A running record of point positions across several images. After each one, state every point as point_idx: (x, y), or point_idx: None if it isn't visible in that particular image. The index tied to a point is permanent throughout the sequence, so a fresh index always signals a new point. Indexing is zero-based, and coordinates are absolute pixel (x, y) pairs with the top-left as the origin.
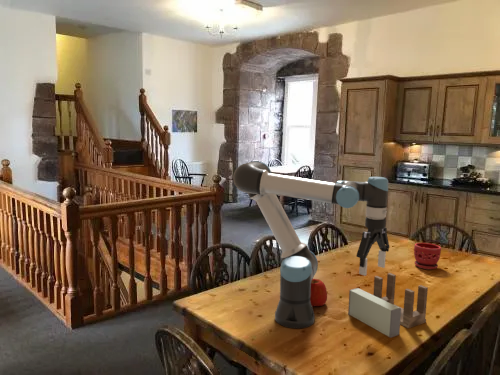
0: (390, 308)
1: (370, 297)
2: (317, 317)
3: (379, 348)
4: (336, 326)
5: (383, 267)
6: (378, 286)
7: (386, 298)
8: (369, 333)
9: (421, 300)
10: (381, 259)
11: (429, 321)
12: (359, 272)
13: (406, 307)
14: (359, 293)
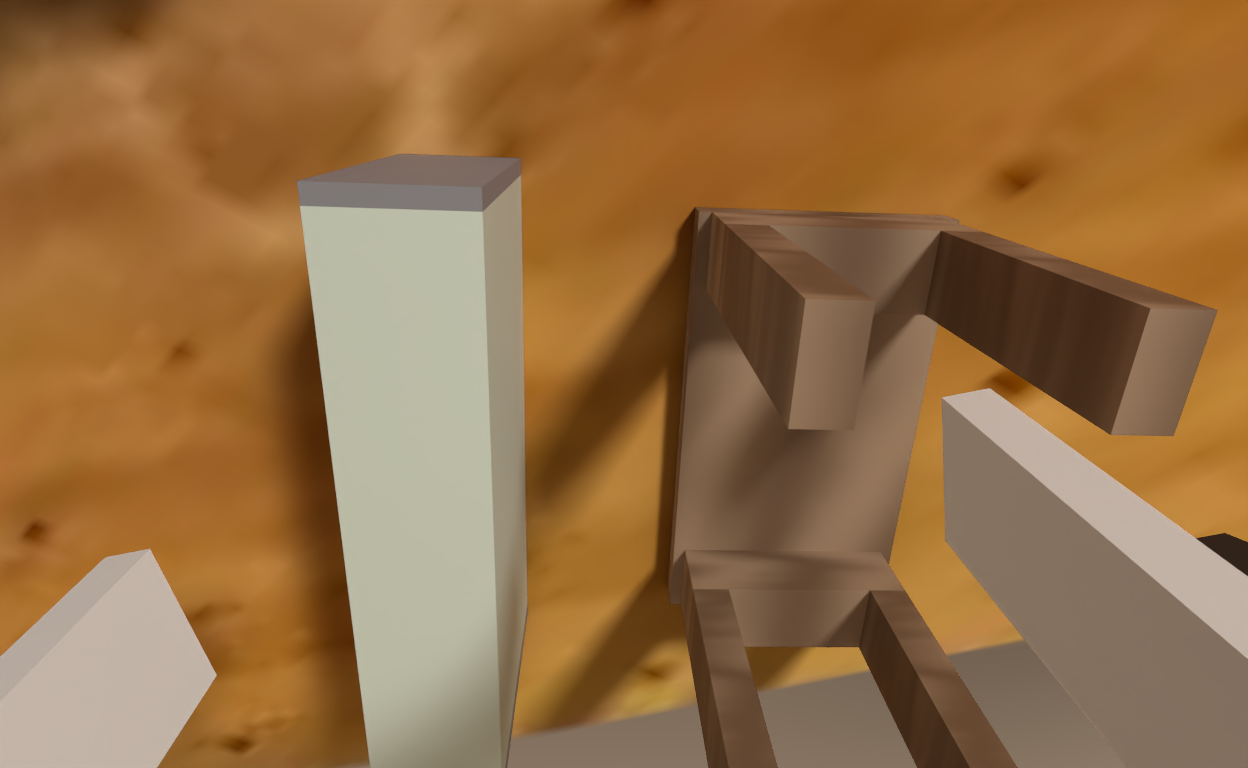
0: (400, 764)
1: (402, 507)
2: (20, 36)
3: (254, 664)
4: (123, 293)
5: (949, 537)
6: (759, 352)
7: (891, 274)
8: (329, 507)
9: (909, 712)
10: (1060, 607)
11: (908, 592)
12: (87, 585)
13: (701, 670)
14: (356, 351)
